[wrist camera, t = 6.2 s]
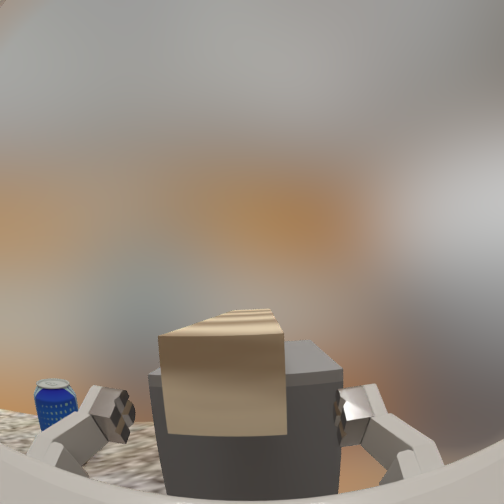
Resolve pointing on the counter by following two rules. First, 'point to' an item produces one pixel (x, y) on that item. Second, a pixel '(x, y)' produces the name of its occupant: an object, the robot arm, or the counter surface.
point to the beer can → (54, 401)
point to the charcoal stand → (262, 442)
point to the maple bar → (225, 376)
